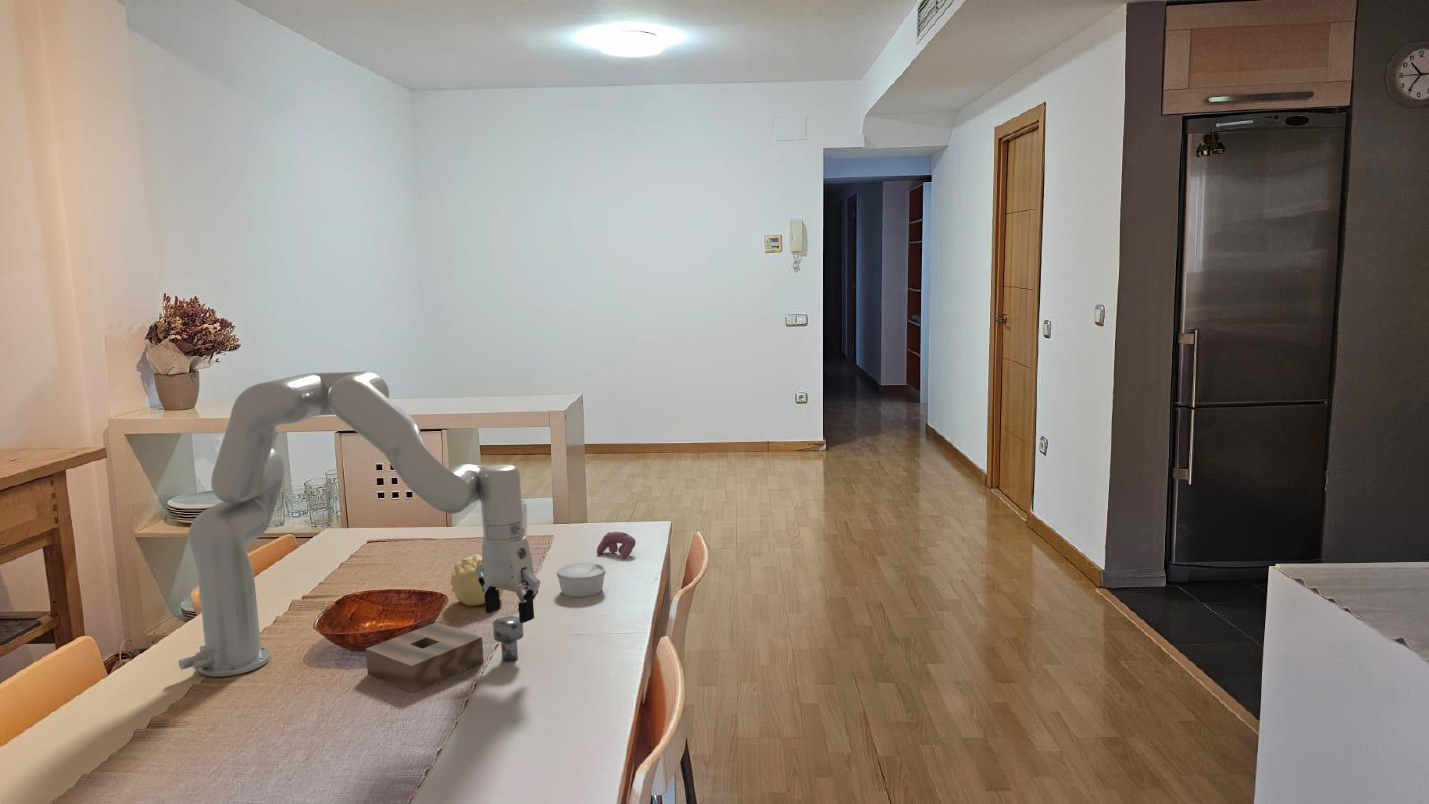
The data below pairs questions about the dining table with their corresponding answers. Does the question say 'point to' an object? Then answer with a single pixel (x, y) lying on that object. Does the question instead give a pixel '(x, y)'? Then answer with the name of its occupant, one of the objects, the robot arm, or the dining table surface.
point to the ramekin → (581, 579)
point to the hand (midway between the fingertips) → (509, 615)
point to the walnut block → (424, 656)
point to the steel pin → (508, 636)
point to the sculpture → (468, 581)
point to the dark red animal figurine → (613, 539)
